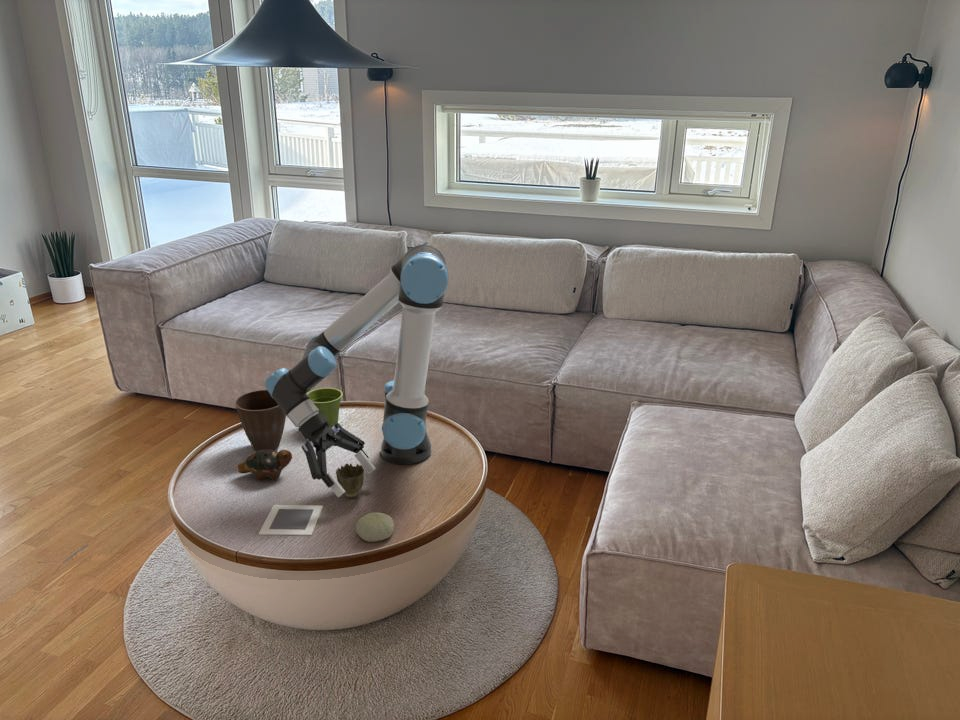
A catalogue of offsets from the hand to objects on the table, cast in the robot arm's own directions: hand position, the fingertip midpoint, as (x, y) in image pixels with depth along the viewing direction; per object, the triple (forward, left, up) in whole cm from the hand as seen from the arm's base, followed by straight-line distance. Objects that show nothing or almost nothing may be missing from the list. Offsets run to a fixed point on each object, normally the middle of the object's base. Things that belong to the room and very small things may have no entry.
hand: (357, 482), depth 190 cm
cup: (+2, -1, -5) cm, 5 cm away
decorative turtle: (+28, -11, -5) cm, 30 cm away
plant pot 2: (+18, -43, -5) cm, 47 cm away
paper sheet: (+15, +11, -5) cm, 19 cm away
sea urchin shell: (-7, +16, -5) cm, 18 cm away
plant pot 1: (+33, -28, -5) cm, 44 cm away
